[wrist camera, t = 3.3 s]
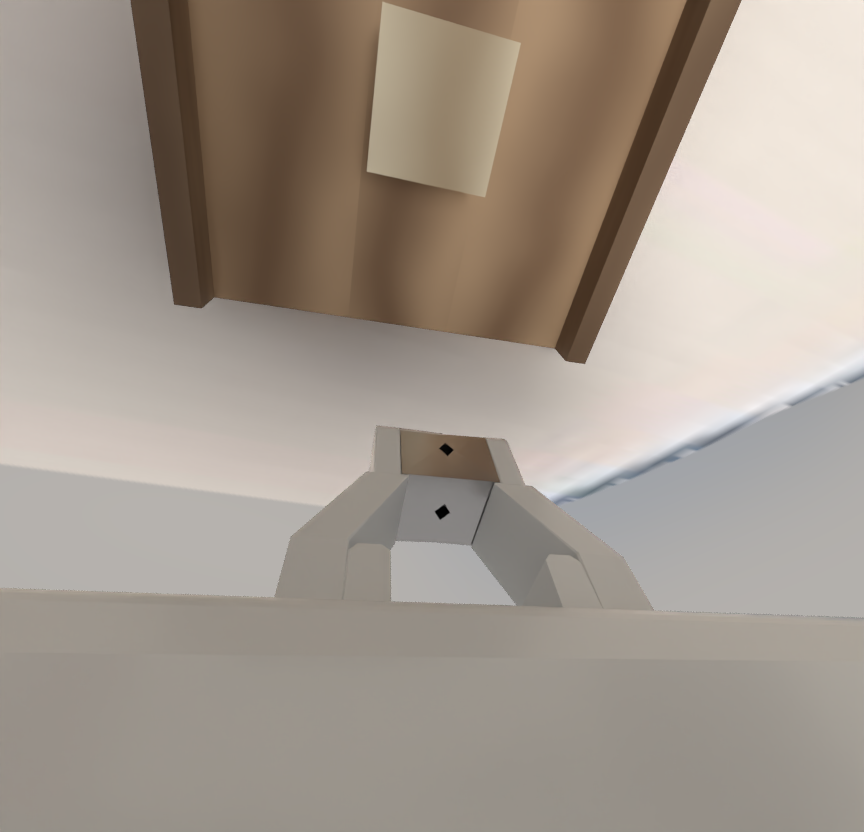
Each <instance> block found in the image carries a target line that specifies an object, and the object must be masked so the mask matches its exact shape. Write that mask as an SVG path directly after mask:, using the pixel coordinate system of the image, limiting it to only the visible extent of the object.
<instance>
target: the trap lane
mask: <svg viewBox="0 0 864 832" xmlns="http://www.w3.org/2000/svg"><path fill="white" fill-rule="evenodd" d="M382 2H385V3H389V4H392V5H395V6H399V7H402V8H405V9H409V10H412V11H415V12H419V13H422V14H425V15H429V16H432V17H435V18H439V19H442V20H446V21H449V22H452V23H456V24H459V25H462V26H466V27H469V28H472V29H476V30H479V31H482V32H486V33H489V34H492V35H496V36H499V37H502V38H506V39H509V40H512V41H516V42H519V43H521V45H520V49H519V54H518V58H517V62H516V67H515V71H514V75H513V79H512V84H511V88H510V92H509V97H508V101H507V105H506V110H505V114H504V118H503V122H502V127H501V131H500V135H499V140H498V144H497V148H496V152H495V157H494V161H493V165H492V170H491V174H490V178H489V183H488V187H487V191H486V195H485V197H481V196H476V195H472V194H467V193H463V192H458V191H454V190H449V189H444V188H440V187H435V186H431V185H426V184H422V183H417V182H412V181H408V180H403V179H399V178H394V177H390V176H385V175H380V174H376V173H371V172H367V162H368V151H369V140H370V130H371V119H372V108H373V98H374V87H375V76H376V65H377V55H378V44H379V33H380V22H381V12H382ZM740 3H741V0H131V7H132V14H133V21H134V28H135V35H136V42H137V49H138V56H139V63H140V70H141V76H142V83H143V90H144V97H145V104H146V111H147V118H148V125H149V132H150V139H151V146H152V153H153V160H154V167H155V174H156V181H157V188H158V195H159V202H160V209H161V216H162V223H163V230H164V237H165V244H166V250H167V257H168V264H169V271H170V278H171V285H172V292H173V299H174V304H175V305H182V306H189V307H196V308H203V307H204V306H205V305H206V304H207V303H208V302H209V301H211V300H212V299H213V298H214V297H217V298H223V299H230V300H237V301H243V302H250V303H256V304H263V305H270V306H276V307H283V308H290V309H296V310H303V311H310V312H316V313H323V314H330V315H336V316H343V317H350V318H356V319H363V320H370V321H376V322H383V323H389V324H396V325H403V326H409V327H416V328H423V329H429V330H436V331H443V332H449V333H456V334H463V335H469V336H476V337H483V338H489V339H496V340H503V341H509V342H516V343H522V344H529V345H536V346H542V347H549V348H555V349H556V350H557V352H558V353H559V354H560V355H561V356H562V357H563V358H564V360H565V361H569V362H575V363H582V364H585V362H586V360H587V358H588V355H589V353H590V351H591V349H592V346H593V344H594V342H595V339H596V337H597V335H598V332H599V330H600V328H601V325H602V323H603V321H604V318H605V316H606V314H607V311H608V309H609V307H610V304H611V302H612V300H613V297H614V295H615V293H616V290H617V288H618V286H619V283H620V281H621V279H622V277H623V274H624V272H625V270H626V267H627V265H628V263H629V260H630V258H631V256H632V253H633V251H634V249H635V246H636V244H637V242H638V239H639V237H640V235H641V232H642V230H643V228H644V225H645V223H646V221H647V218H648V216H649V214H650V212H651V209H652V207H653V205H654V202H655V200H656V198H657V195H658V193H659V191H660V188H661V186H662V184H663V181H664V179H665V177H666V174H667V172H668V170H669V167H670V165H671V163H672V160H673V158H674V156H675V153H676V151H677V149H678V147H679V144H680V142H681V140H682V137H683V135H684V133H685V130H686V128H687V126H688V123H689V121H690V119H691V116H692V114H693V112H694V109H695V107H696V105H697V102H698V100H699V98H700V95H701V93H702V91H703V88H704V86H705V84H706V82H707V79H708V77H709V75H710V72H711V70H712V68H713V65H714V63H715V61H716V58H717V56H718V54H719V51H720V49H721V47H722V44H723V42H724V40H725V37H726V35H727V33H728V30H729V28H730V26H731V23H732V21H733V19H734V17H735V14H736V12H737V10H738V7H739V5H740Z"/></svg>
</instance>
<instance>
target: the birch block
mask: <svg viewBox="0 0 864 832" xmlns="http://www.w3.org/2000/svg"><path fill="white" fill-rule="evenodd" d="M520 45H521V43H519V42H516V41H512V40H509V39H506V38H502V37H499V36H496V35H492V34H489V33H486V32H482V31H479V30H476V29H472V28H469V27H466V26H462V25H459V24H456V23H452V22H449V21H446V20H442V19H439V18H435V17H432V16H429V15H425V14H422V13H419V12H415V11H412V10H409V9H405V8H402V7H399V6H395V5H392V4H389V3H385V2H382V12H381V22H380V33H379V44H378V55H377V65H376V76H375V87H374V98H373V108H372V119H371V130H370V140H369V151H368V162H367V172H371V173H376V174H380V175H385V176H390V177H394V178H399V179H403V180H408V181H412V182H417V183H422V184H426V185H431V186H435V187H440V188H444V189H449V190H454V191H458V192H463V193H467V194H472V195H476V196H481V197H485V195H486V191H487V187H488V183H489V178H490V174H491V170H492V165H493V161H494V157H495V152H496V148H497V144H498V140H499V135H500V131H501V127H502V122H503V118H504V114H505V110H506V105H507V101H508V97H509V92H510V88H511V84H512V79H513V75H514V71H515V67H516V62H517V58H518V54H519V49H520Z"/></svg>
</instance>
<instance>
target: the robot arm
mask: <svg viewBox="0 0 864 832" xmlns="http://www.w3.org/2000/svg"><path fill="white" fill-rule="evenodd" d="M395 541H415V542H437V543H450V544H460V545H471V546H472V549H473V550H474V551H475V552H476V554H477V555H478V556H479V558H480V559H481V560H482V562H483V563H484V564H485V565H486V567H487V568H488V569H489V570H490V572H491V573H492V574H493V576H494V577H495V578H496V579H497V580H498V582H499V583H500V585H501V586H502V587H503V588H504V590H505V591H506V592H507V593H508V595H509V596H510V597H511V599H512V600H513V601H514V603H515V604H516V605H517V606H510V605H481V604H480V605H479V604H453V603H423V602H422V603H421V602H395V601H391V552H390V550H391V548H392V547H393V545H394V544H395ZM0 832H864V618H857V617H856V618H855V617H828V616H799V615H771V614H770V615H769V614H740V613H710V612H682V611H654V609H653V607H652V606H651V604H650V602H649V601H648V599H647V597H646V595H645V594H644V592H643V590H642V589H641V587H640V585H639V583H638V581H637V580H636V578H635V576H634V575H633V573H632V571H631V569H630V568H629V566H628V564H627V563H626V561H625V559H624V557H622V556H621V555H620V554H619V553H617V552H616V551H615V550H613V549H612V548H611V547H610V546H608V545H607V544H606V543H604V542H603V541H602V540H601V539H599V538H598V537H597V536H595V535H594V534H593V533H592V532H590V531H589V530H588V529H586V528H585V527H584V526H583V525H581V524H580V523H579V522H577V521H576V520H575V519H574V518H572V517H571V516H570V515H568V514H567V513H566V512H564V511H563V510H562V509H561V508H559V507H558V506H557V505H556V504H554V503H553V502H552V501H550V500H549V499H548V498H546V497H545V496H544V495H543V494H541V493H540V492H539V491H537V490H536V489H535V488H534V487H532V486H526V485H525V483H524V481H523V478H522V476H521V474H520V471H519V469H518V467H517V464H516V462H515V459H514V457H513V455H512V452H511V450H510V448H509V445H508V443H507V441H506V440H504V439H497V438H484V437H483V438H480V437H469V436H457V435H446V434H442V433H434V432H427V431H419V430H411V429H403V428H396V427H387V426H377V425H376V429H375V435H374V441H373V448H372V455H371V462H370V469H369V471H367V472H365V473H364V474H363V475H362V476H361V477H360V478H358V479H357V480H356V481H355V482H354V483H353V484H351V485H350V486H349V487H348V488H347V489H346V490H344V491H343V492H342V493H341V494H340V495H339V496H337V497H336V498H335V499H334V500H333V501H332V502H331V503H329V504H328V505H327V506H326V507H325V508H324V509H322V510H321V511H320V512H319V513H318V514H317V515H316V516H314V517H313V518H312V519H311V520H310V521H309V522H307V523H306V524H305V525H304V526H303V527H302V528H300V529H299V530H298V531H297V532H296V533H295V534H293V535H292V536H291V538H290V541H289V545H288V549H287V552H286V556H285V560H284V564H283V567H282V571H281V575H280V578H279V582H278V586H277V589H276V594H275V597H249V596H219V595H191V594H190V595H189V594H161V593H132V592H104V591H75V590H74V591H73V590H46V589H17V588H0Z"/></svg>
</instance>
